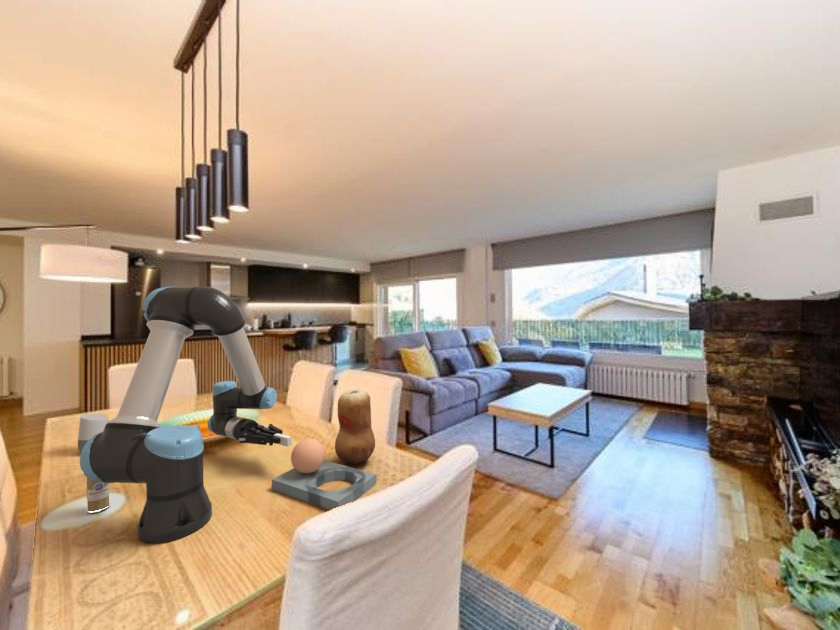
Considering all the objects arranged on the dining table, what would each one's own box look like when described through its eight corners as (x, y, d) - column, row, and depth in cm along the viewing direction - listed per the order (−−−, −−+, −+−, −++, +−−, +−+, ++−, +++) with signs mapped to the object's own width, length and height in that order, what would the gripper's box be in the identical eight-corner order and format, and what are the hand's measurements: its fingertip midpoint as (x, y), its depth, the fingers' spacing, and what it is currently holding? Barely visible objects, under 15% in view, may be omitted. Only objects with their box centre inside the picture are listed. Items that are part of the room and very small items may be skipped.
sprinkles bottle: (91, 516, 90) (89, 464, 90) (83, 511, 92) (82, 461, 92) (113, 507, 94) (112, 458, 94) (105, 503, 96) (104, 454, 96)
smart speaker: (106, 453, 130) (105, 415, 130) (73, 457, 126) (72, 419, 126) (115, 444, 139) (114, 409, 138) (84, 448, 135) (83, 412, 134)
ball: (320, 479, 103) (320, 445, 103) (286, 480, 103) (285, 446, 102) (328, 464, 113) (328, 433, 113) (297, 464, 113) (296, 434, 112)
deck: (272, 489, 103) (271, 479, 103) (314, 466, 118) (314, 457, 118) (338, 513, 91) (338, 501, 91) (376, 484, 106) (376, 474, 106)
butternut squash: (326, 465, 118) (326, 392, 118) (352, 451, 130) (351, 384, 130) (359, 474, 112) (359, 397, 111) (383, 458, 124) (382, 388, 123)
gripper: (259, 433, 129) (305, 445, 118) (224, 446, 118) (272, 461, 106) (258, 413, 129) (304, 423, 118) (224, 424, 117) (272, 437, 106)
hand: (289, 441), depth 112 cm, fingers closed
